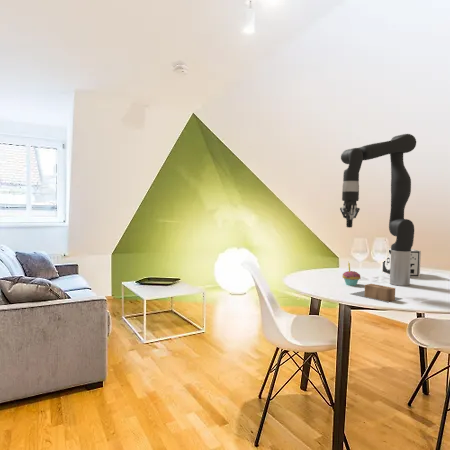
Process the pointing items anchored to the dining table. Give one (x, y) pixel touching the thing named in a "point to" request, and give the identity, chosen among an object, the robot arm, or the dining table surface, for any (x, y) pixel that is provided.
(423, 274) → the dining table surface
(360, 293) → the mat
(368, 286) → the walnut block
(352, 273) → the cupcake
